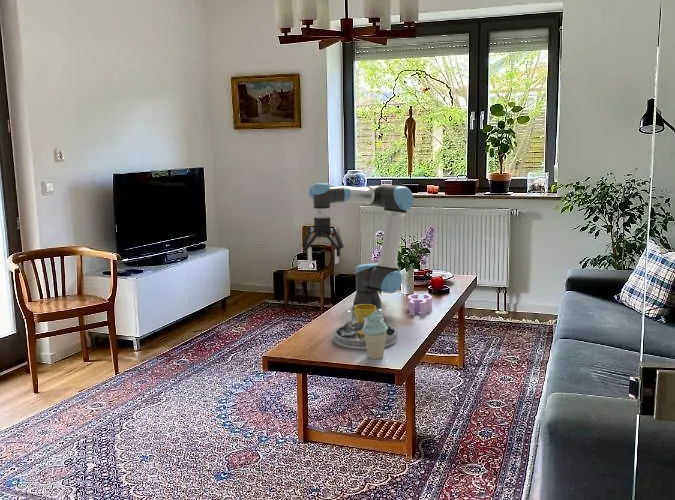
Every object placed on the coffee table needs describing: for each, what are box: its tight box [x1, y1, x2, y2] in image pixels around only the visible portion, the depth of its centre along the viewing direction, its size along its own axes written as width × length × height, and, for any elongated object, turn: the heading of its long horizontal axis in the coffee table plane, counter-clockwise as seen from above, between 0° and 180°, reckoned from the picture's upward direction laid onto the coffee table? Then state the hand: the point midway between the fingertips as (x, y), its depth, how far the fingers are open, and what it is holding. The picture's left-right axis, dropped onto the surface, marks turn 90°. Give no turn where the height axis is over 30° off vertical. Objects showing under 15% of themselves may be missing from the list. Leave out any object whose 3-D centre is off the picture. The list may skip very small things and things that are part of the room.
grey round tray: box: [332, 308, 398, 351], centre depth 296 cm, size 28×28×12 cm
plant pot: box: [353, 304, 376, 323], centre depth 316 cm, size 10×10×10 cm
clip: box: [407, 292, 433, 317], centre depth 342 cm, size 20×12×7 cm, turn 167°
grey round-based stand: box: [341, 309, 356, 337], centre depth 299 cm, size 7×7×11 cm
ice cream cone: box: [362, 309, 388, 360], centre depth 273 cm, size 10×11×20 cm
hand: (323, 262), depth 310 cm, fingers open, 13 cm apart
